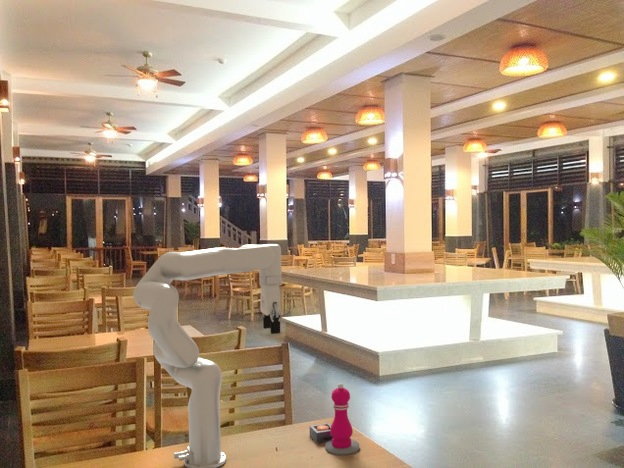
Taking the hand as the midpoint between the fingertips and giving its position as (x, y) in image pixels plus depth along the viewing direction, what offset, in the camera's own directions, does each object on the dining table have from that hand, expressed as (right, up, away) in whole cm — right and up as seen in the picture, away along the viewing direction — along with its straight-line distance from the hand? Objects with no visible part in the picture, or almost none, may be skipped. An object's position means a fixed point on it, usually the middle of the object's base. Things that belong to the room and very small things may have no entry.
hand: (271, 330), depth 192 cm
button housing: (+17, -36, -1) cm, 40 cm away
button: (+17, -35, -1) cm, 39 cm away
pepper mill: (+23, -35, -10) cm, 43 cm away
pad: (+23, -36, -10) cm, 44 cm away
